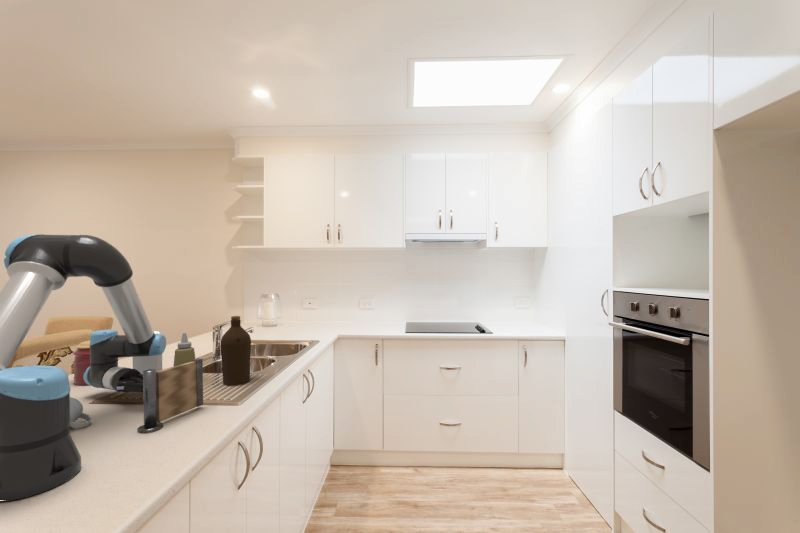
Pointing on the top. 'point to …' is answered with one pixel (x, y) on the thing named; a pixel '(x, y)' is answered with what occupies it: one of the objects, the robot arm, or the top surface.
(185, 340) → the squeeze bottle
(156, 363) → the jar
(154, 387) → the gate post
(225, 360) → the olive oil
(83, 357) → the canister
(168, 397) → the gate
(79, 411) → the ceramic mug
